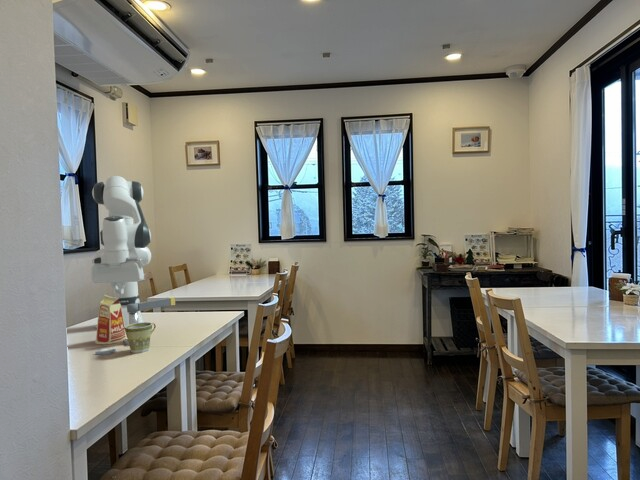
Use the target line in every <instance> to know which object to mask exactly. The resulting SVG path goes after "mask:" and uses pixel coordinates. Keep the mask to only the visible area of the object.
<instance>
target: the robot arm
mask: <svg viewBox="0 0 640 480" xmlns="http://www.w3.org/2000/svg"><path fill="white" fill-rule="evenodd" d="M144 191H145V190H144V188H143V185H142V184H141V183H140V182H139V181H135V180H132V181H129V180H127V179H126V178H124V177H122V176H120V175H113V176H110V177H108V178H107V179H106V181H105V182H103V181H100V182H96V183H95V184H94V185H93V188H92V191H91V194H92V197H93V200H94V201H95V203H96V204H98V205H103V206H104V207H105V209H106V210H107V211H108V216H107V217H105V218H103V221H102V230H100V231H99V234H100V235H99V236H100V244H101V245H102V246H103V248H100V249H98V250H97V251H96V252H95V255H94V258H92V259H91V264H92V266H91V280H92V282H93V283H94V284H100V283H101V284H103V283H105V284H106V283H107V284H108V283H110V286H111V288H112V289H113V295H114V298H119V299H118V301H119V302H120V304H121V309H122V313H123V319H124V324H125V326H127V325H129V313H128V312H127V305H128V304H134V303H140V302H141V299H140V294H139V288H138V287H139V286H138V282H141V281H143V280H144V279H145V274H144V268H143V267H144V266H147V265H149V264H150V262H151V260H152V252H151V250H150V248H149V247H147V246H149V244H151V241H152V233H151V230H150V228H149V225H148V224H147V221H146V219H145V216H144V213H143V210H142V207H141V205H140V202H142V200H143V197H144V193H145V192H144ZM141 312H142V311H138V322H139V323H143V322H145V321H144V318H143V316H142V313H141ZM95 328H96V329H97V324H95Z"/></svg>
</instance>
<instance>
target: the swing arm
mask: <svg viewBox="0 0 640 480" xmlns="http://www.w3.org/2000/svg"><path fill="white" fill-rule="evenodd" d="M175 299H176V298H175V297H173V296H169V297H165V298H159V299H153V300H147V301H140V303H134V304H128V305H127V312H128V313H132V312H138V311H141V312H143V311H147V310H151V309H152V310H153V309H157V308H163V307H168V306H176V300H175Z"/></svg>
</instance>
